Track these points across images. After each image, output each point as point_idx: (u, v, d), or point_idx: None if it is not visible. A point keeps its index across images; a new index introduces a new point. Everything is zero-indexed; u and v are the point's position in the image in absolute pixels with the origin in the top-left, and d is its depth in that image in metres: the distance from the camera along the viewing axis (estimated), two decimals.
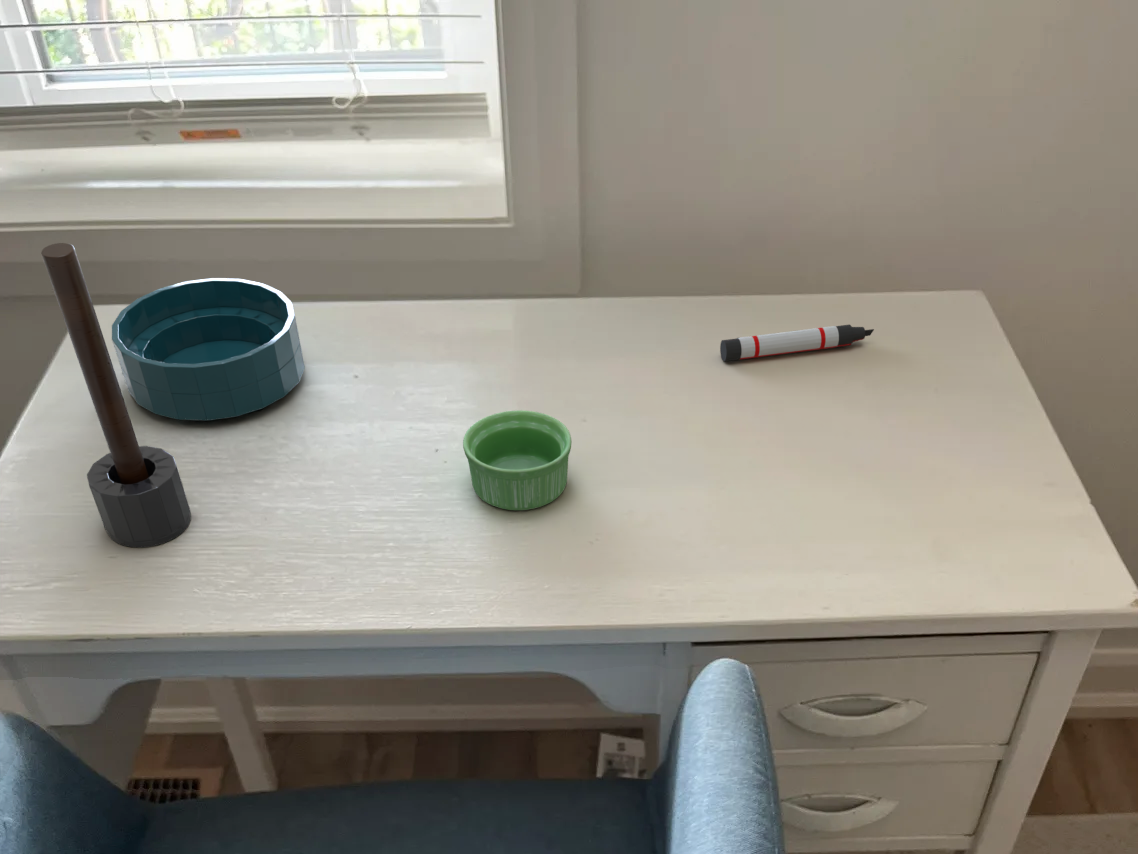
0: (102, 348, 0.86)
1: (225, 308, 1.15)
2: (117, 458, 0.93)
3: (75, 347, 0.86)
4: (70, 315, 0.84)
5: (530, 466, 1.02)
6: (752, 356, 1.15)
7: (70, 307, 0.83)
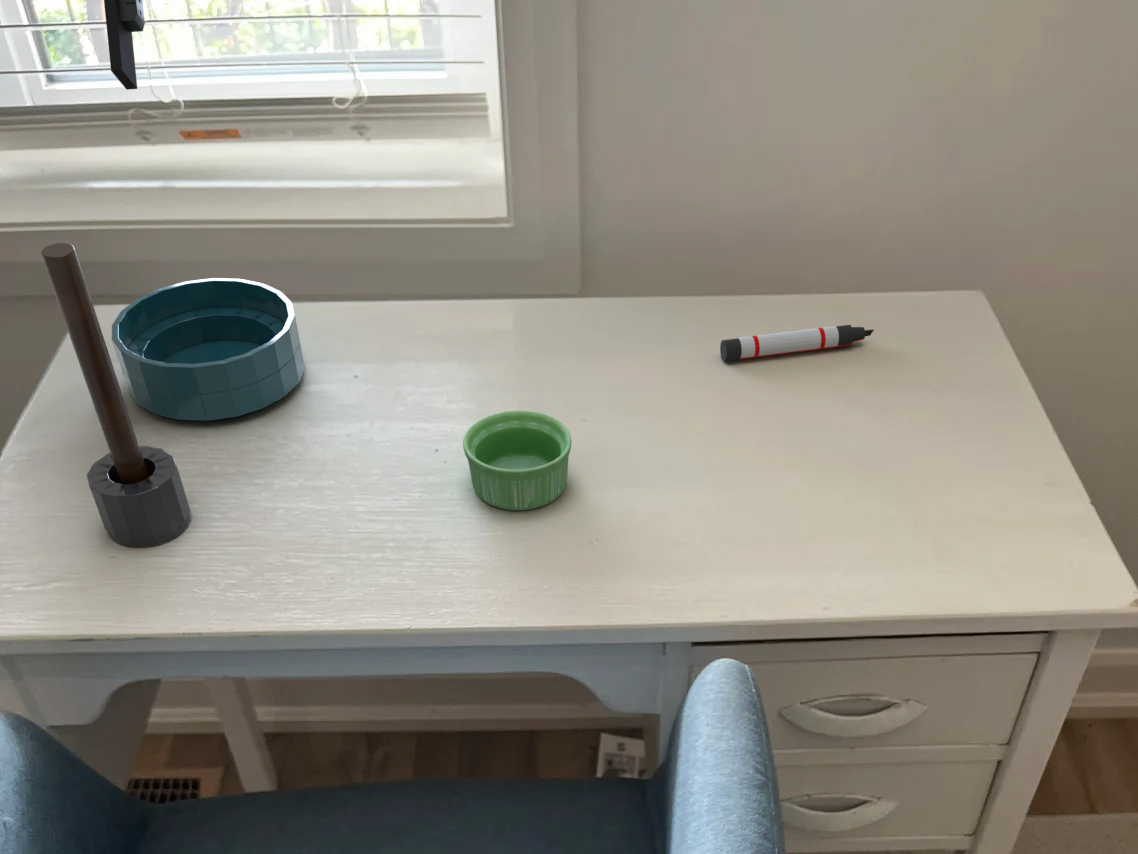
0: (102, 348, 0.86)
1: (225, 308, 1.15)
2: (117, 458, 0.93)
3: (75, 347, 0.86)
4: (70, 315, 0.84)
5: (530, 466, 1.02)
6: (752, 356, 1.15)
7: (70, 307, 0.83)
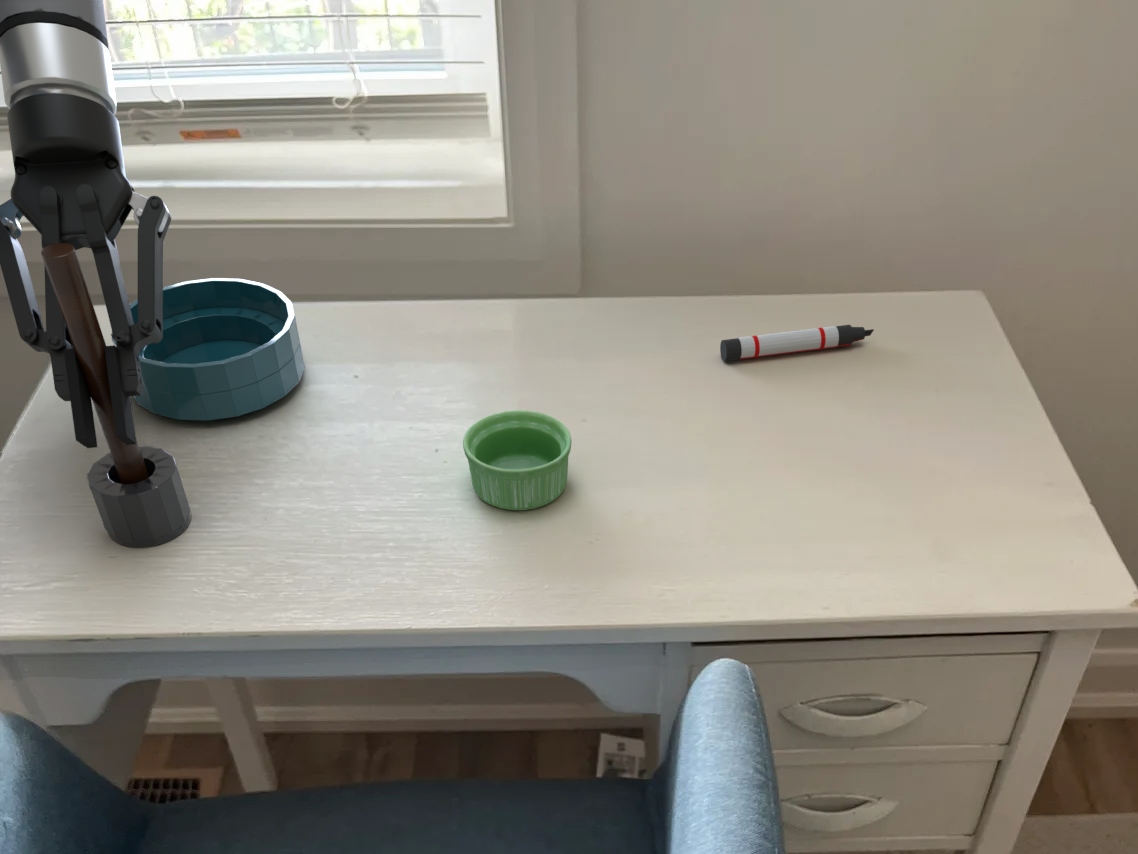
0: (102, 348, 0.86)
1: (225, 308, 1.15)
2: (117, 458, 0.93)
3: (75, 347, 0.86)
4: (70, 315, 0.84)
5: (530, 466, 1.02)
6: (752, 356, 1.15)
7: (70, 307, 0.83)
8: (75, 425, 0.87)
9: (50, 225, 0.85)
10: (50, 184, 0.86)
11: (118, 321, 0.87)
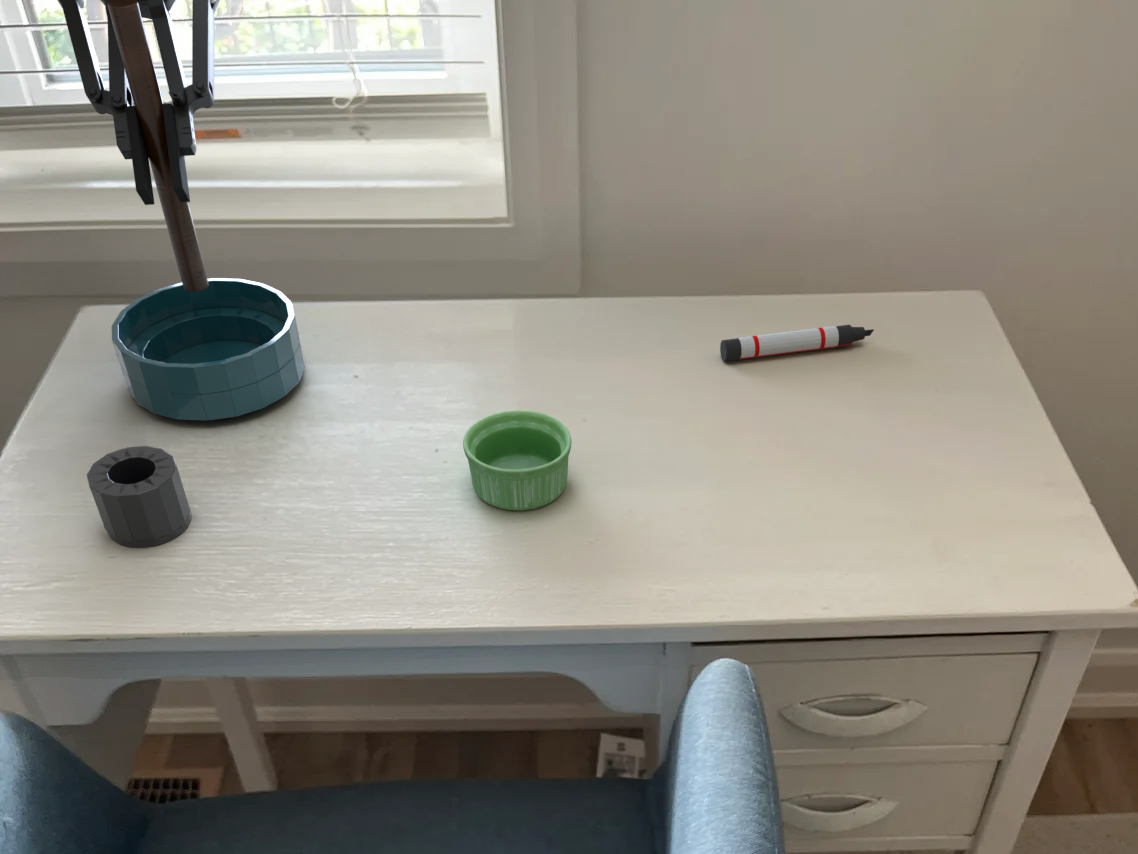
0: (160, 105, 0.94)
1: (225, 308, 1.15)
2: (170, 221, 1.01)
3: (136, 103, 0.94)
4: (132, 68, 0.92)
5: (530, 466, 1.02)
6: (752, 356, 1.15)
7: (132, 60, 0.91)
8: (135, 177, 0.95)
9: None
10: None
11: (174, 81, 0.95)
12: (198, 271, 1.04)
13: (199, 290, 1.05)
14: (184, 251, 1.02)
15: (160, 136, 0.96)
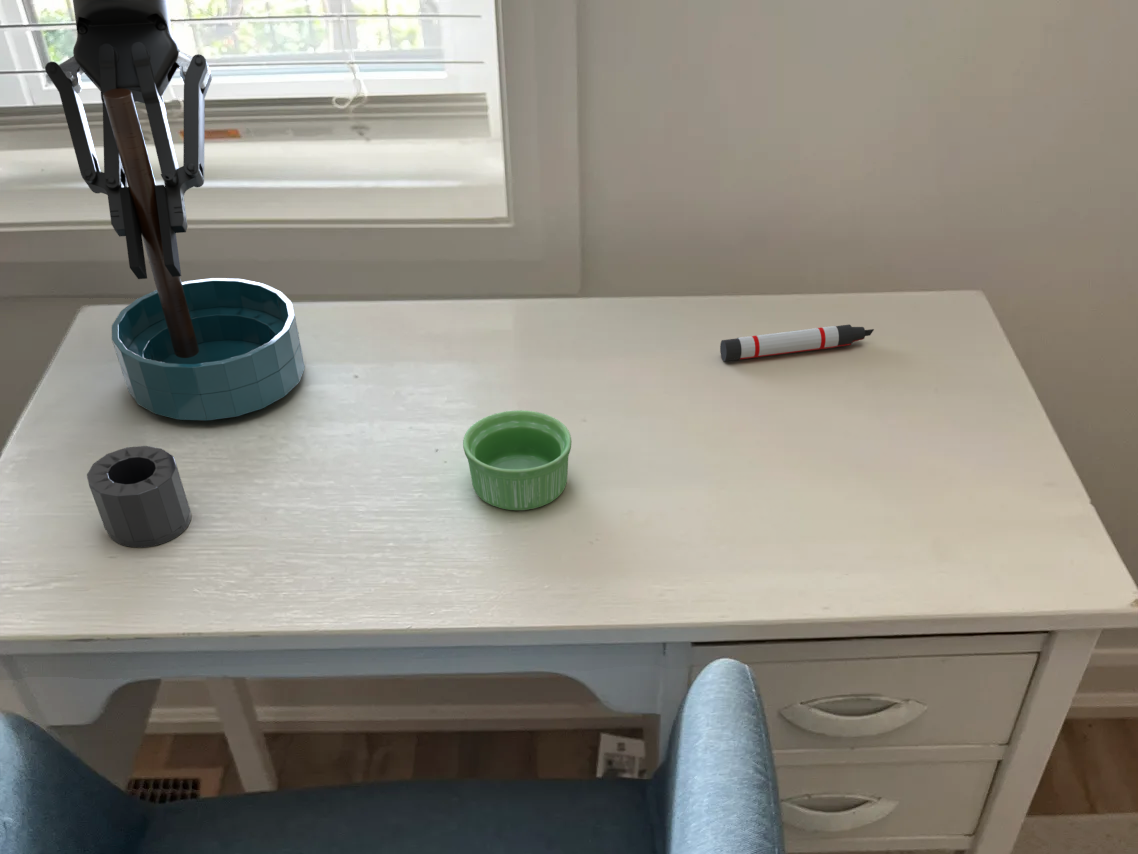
0: (153, 186, 0.99)
1: (225, 308, 1.15)
2: (162, 292, 1.05)
3: (129, 185, 0.99)
4: (126, 154, 0.97)
5: (530, 466, 1.02)
6: (752, 356, 1.15)
7: (126, 146, 0.96)
8: (129, 254, 0.99)
9: (108, 78, 0.98)
10: (107, 43, 0.98)
11: (166, 164, 0.99)
12: (189, 338, 1.09)
13: (190, 356, 1.10)
14: (175, 320, 1.07)
15: (153, 215, 1.00)
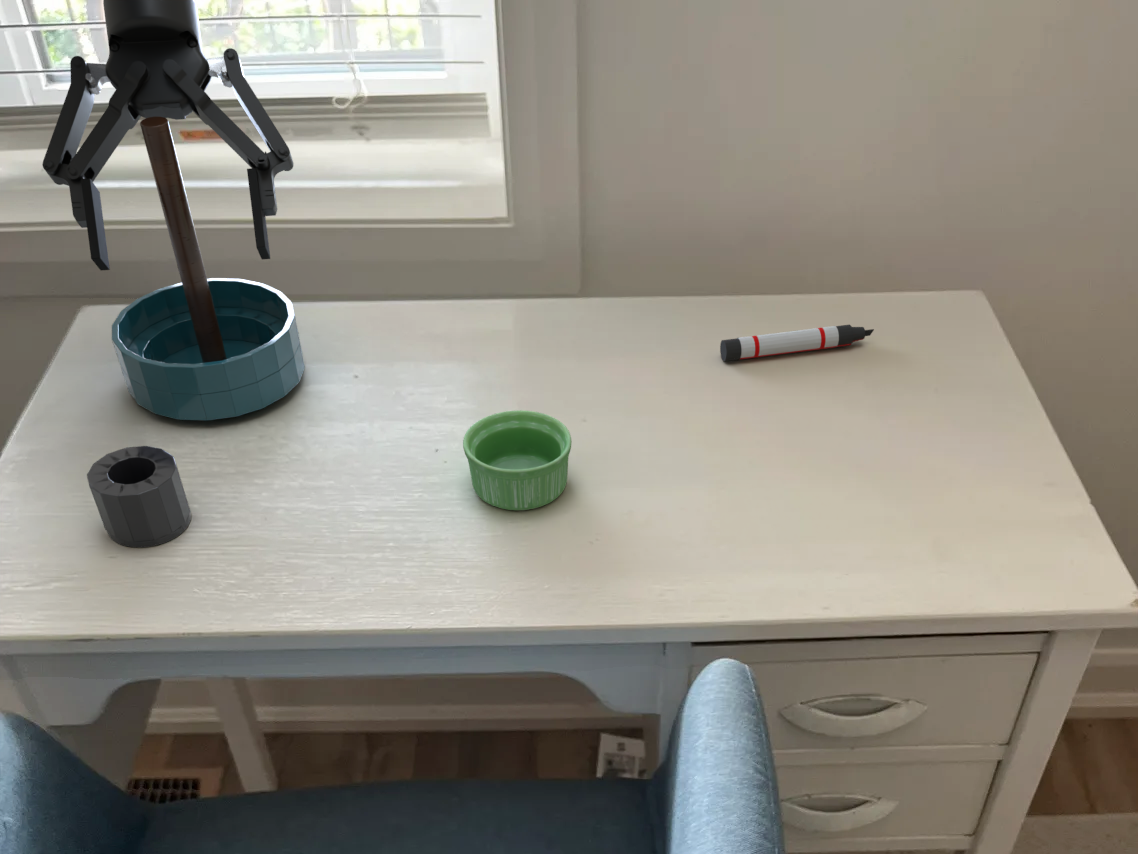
0: (187, 211, 1.01)
1: (225, 308, 1.15)
2: (195, 315, 1.07)
3: (164, 210, 1.00)
4: (162, 180, 0.98)
5: (530, 466, 1.02)
6: (752, 356, 1.15)
7: (162, 173, 0.98)
8: (90, 245, 1.00)
9: (125, 90, 0.99)
10: (139, 59, 0.99)
11: (252, 151, 1.01)
12: (220, 359, 1.10)
13: None
14: (207, 341, 1.09)
15: (187, 239, 1.02)
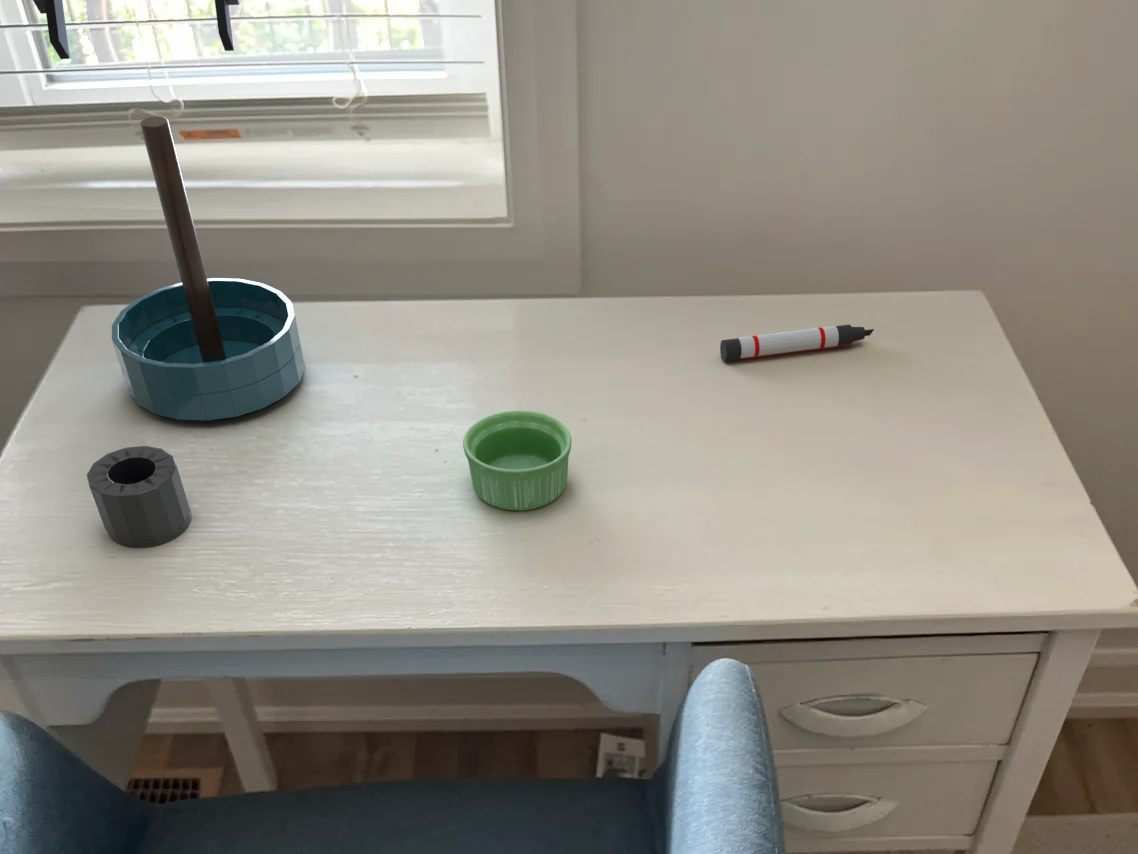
0: (187, 211, 1.01)
1: (225, 308, 1.15)
2: (195, 315, 1.07)
3: (164, 210, 1.00)
4: (162, 180, 0.98)
5: (530, 466, 1.02)
6: (752, 356, 1.15)
7: (162, 173, 0.98)
8: (49, 27, 0.98)
9: None
10: None
11: None
12: (220, 359, 1.10)
13: None
14: (207, 341, 1.09)
15: (187, 239, 1.02)
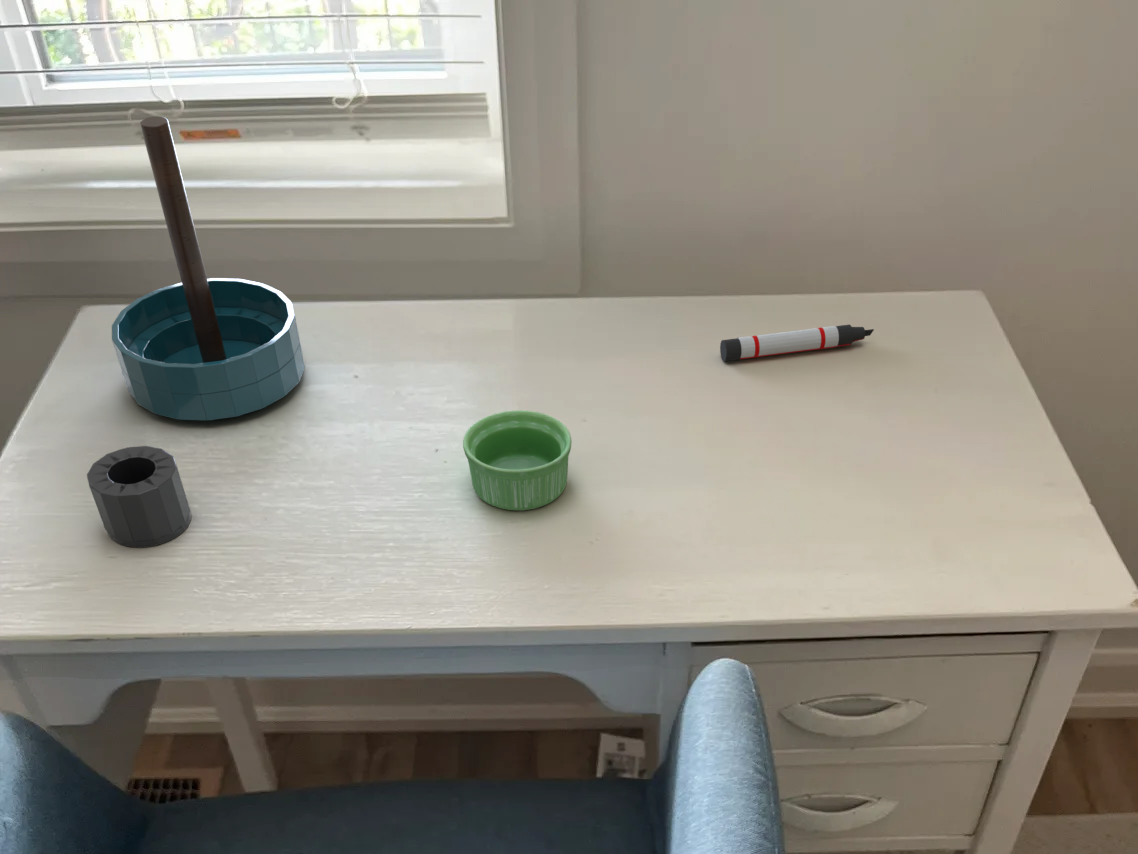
0: (187, 211, 1.01)
1: (225, 308, 1.15)
2: (195, 315, 1.07)
3: (164, 210, 1.00)
4: (162, 180, 0.98)
5: (530, 466, 1.02)
6: (752, 356, 1.15)
7: (162, 173, 0.98)
8: None
9: None
10: None
11: None
12: (220, 359, 1.10)
13: None
14: (207, 341, 1.09)
15: (187, 239, 1.02)
